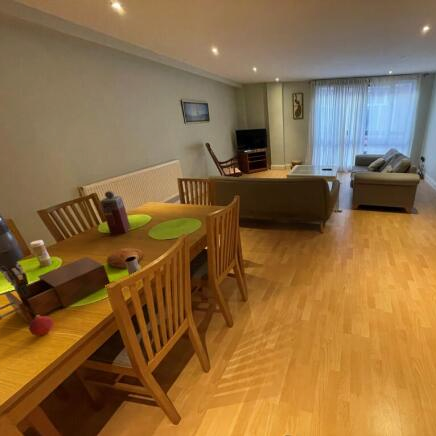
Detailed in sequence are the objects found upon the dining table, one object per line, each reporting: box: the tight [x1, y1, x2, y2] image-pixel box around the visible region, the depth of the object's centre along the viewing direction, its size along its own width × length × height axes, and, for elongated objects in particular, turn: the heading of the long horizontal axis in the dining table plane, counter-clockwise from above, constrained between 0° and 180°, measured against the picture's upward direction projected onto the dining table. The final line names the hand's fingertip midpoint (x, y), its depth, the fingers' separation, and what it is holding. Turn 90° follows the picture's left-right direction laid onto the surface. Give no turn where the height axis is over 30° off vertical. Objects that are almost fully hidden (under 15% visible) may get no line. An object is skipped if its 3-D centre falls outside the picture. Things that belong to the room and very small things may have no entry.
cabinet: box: [37, 256, 111, 309], centre depth 102 cm, size 17×15×11 cm
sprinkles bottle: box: [29, 239, 53, 268], centre depth 121 cm, size 5×5×13 cm
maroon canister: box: [99, 190, 131, 235], centre depth 154 cm, size 9×11×28 cm
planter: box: [125, 257, 141, 276], centre depth 111 cm, size 4×4×10 cm
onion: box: [28, 315, 55, 336], centre depth 82 cm, size 6×6×8 cm
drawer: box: [0, 279, 62, 325], centre depth 92 cm, size 21×14×9 cm, turn 152°
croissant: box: [106, 247, 143, 269], centre depth 125 cm, size 14×16×8 cm
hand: (24, 294), depth 77 cm, fingers closed
